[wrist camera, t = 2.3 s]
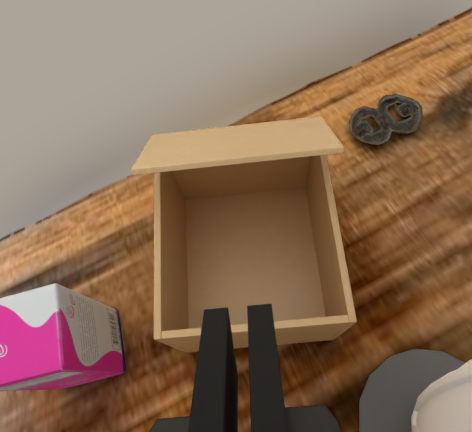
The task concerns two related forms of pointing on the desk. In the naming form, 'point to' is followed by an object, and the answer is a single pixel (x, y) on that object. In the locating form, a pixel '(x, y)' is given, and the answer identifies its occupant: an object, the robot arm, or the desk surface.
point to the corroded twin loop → (385, 119)
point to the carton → (250, 251)
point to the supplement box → (57, 340)
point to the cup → (418, 394)
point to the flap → (237, 145)
